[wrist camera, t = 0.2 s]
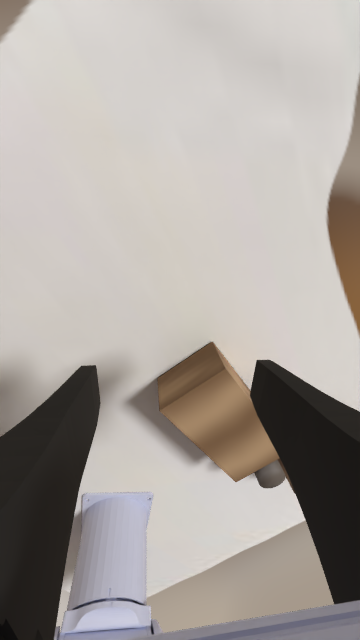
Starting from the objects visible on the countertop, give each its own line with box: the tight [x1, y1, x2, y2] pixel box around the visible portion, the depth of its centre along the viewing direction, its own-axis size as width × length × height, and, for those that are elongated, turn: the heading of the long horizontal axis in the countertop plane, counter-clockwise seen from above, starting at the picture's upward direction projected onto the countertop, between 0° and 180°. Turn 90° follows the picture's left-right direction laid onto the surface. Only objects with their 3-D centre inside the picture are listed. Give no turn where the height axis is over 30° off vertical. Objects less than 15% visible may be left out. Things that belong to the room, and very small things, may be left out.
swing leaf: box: [158, 342, 285, 488], centre depth 23 cm, size 15×6×4 cm, turn 35°
